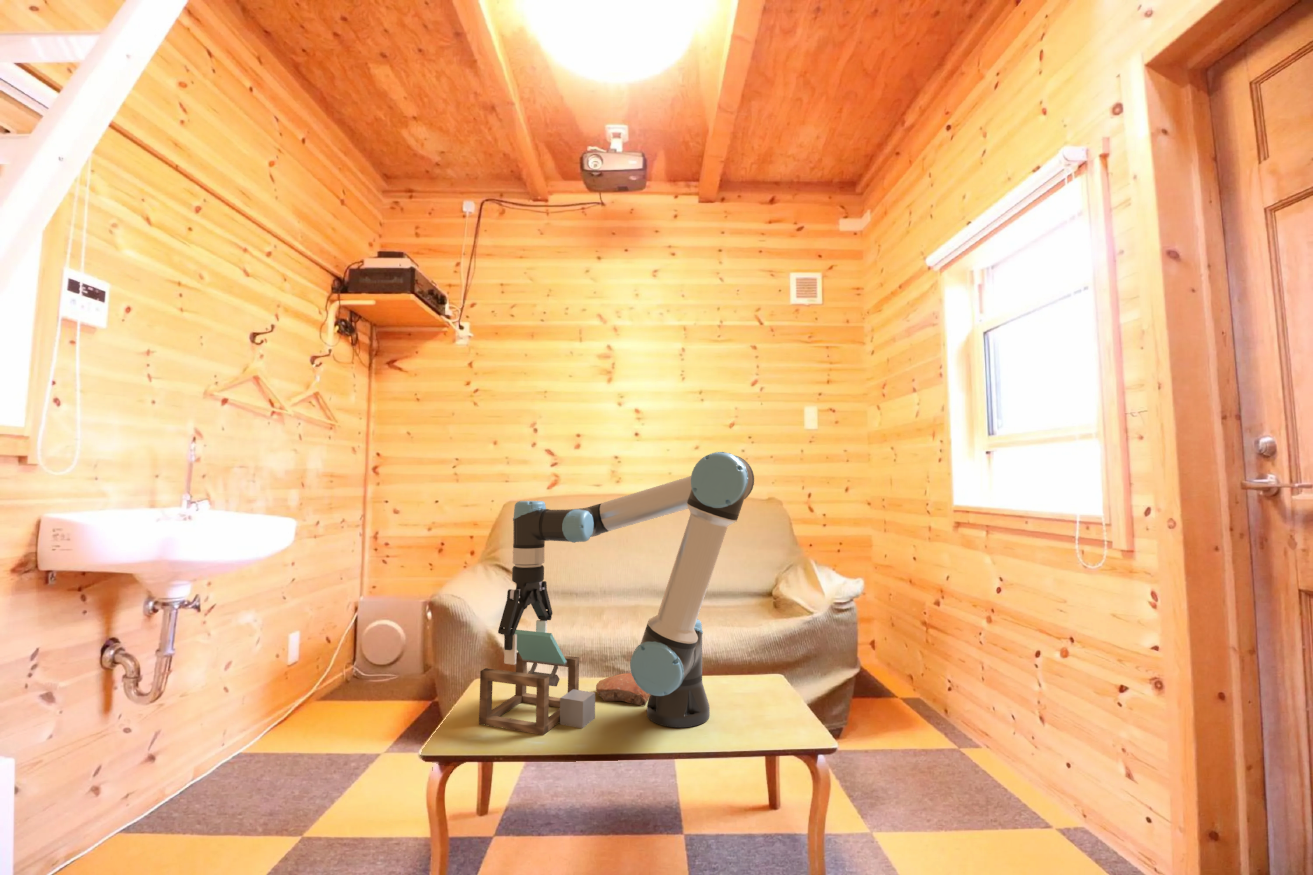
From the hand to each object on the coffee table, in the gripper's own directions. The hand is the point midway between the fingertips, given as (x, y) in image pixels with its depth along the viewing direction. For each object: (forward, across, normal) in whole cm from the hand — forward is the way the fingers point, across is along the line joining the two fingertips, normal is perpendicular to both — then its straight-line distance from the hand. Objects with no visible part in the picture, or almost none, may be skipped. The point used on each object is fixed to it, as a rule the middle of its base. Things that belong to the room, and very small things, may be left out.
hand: (526, 655), depth 135 cm
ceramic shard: (+15, -23, +16) cm, 32 cm away
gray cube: (+15, -3, +12) cm, 19 cm away
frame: (+15, -2, 0) cm, 15 cm away
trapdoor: (+4, -3, 0) cm, 4 cm away
